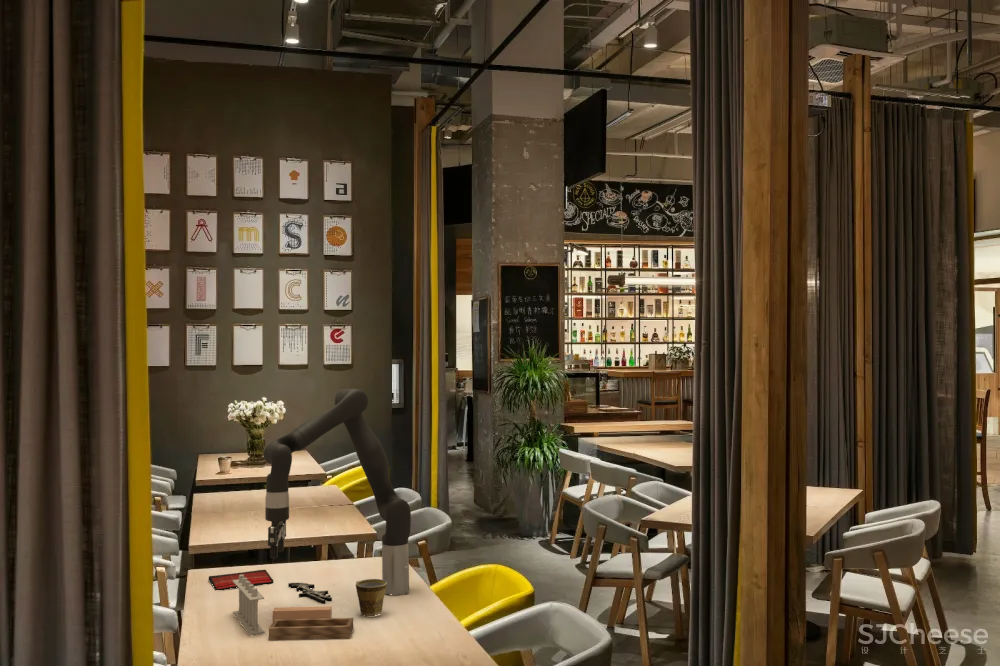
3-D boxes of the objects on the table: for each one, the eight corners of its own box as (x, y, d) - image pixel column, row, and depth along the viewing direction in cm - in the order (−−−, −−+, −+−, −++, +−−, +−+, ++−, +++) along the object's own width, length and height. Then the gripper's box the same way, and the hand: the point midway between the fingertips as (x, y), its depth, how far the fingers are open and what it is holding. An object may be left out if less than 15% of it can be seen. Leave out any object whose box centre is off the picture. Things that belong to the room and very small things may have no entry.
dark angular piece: (278, 585, 317) (303, 580, 324) (278, 589, 317) (303, 584, 324) (316, 602, 297) (342, 596, 303) (316, 606, 297) (342, 600, 303)
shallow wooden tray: (353, 628, 273) (353, 617, 273) (349, 638, 264) (349, 627, 264) (275, 630, 272) (274, 619, 272) (268, 640, 263) (268, 628, 263)
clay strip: (331, 620, 282) (331, 606, 282) (330, 623, 278) (330, 609, 278) (274, 621, 281) (274, 607, 281) (272, 625, 277) (272, 611, 277)
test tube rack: (264, 633, 269) (264, 590, 269) (250, 636, 267) (249, 592, 267) (246, 611, 291) (245, 571, 291) (232, 614, 289) (232, 573, 289)
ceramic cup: (393, 613, 288) (393, 582, 288) (369, 620, 280) (368, 589, 280) (368, 605, 296) (368, 575, 297) (344, 612, 289) (343, 581, 289)
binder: (208, 575, 329) (265, 568, 338) (208, 581, 329) (265, 574, 338) (215, 588, 314) (275, 580, 324) (215, 594, 314) (275, 586, 324)
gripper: (283, 509, 280) (283, 560, 280) (293, 501, 294) (293, 549, 294) (259, 509, 280) (259, 560, 280) (271, 501, 294) (271, 549, 294)
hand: (277, 555), depth 287 cm, fingers open, 8 cm apart
